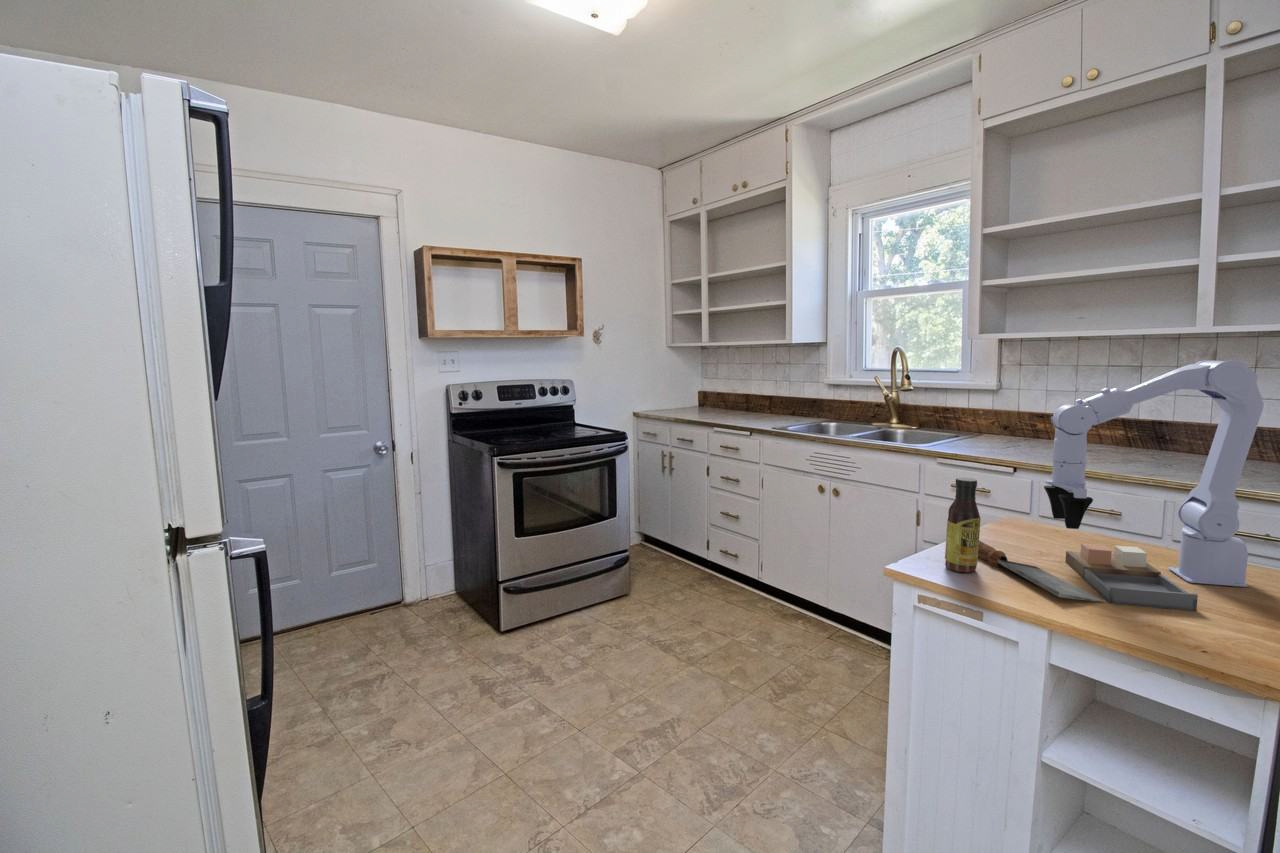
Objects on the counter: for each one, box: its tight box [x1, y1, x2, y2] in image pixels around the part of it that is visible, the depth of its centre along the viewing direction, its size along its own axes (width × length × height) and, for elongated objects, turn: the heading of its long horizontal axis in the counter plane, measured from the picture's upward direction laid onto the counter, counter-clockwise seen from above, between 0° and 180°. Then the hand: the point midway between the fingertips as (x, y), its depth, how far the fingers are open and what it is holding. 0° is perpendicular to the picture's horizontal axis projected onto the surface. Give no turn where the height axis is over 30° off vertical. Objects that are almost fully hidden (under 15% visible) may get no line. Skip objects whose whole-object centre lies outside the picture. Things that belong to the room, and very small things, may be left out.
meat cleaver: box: [978, 540, 1107, 603], centre depth 128 cm, size 34×11×4 cm, turn 3°
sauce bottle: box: [944, 477, 982, 574], centre depth 129 cm, size 7×6×20 cm
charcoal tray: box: [1083, 569, 1199, 612], centre depth 115 cm, size 13×12×3 cm
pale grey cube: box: [1113, 545, 1148, 567], centre depth 124 cm, size 4×4×3 cm
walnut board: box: [1064, 550, 1162, 580], centre depth 126 cm, size 13×10×2 cm
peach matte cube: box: [1080, 543, 1113, 565], centre depth 126 cm, size 4×4×3 cm
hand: (1065, 523), depth 130 cm, fingers open, 7 cm apart
